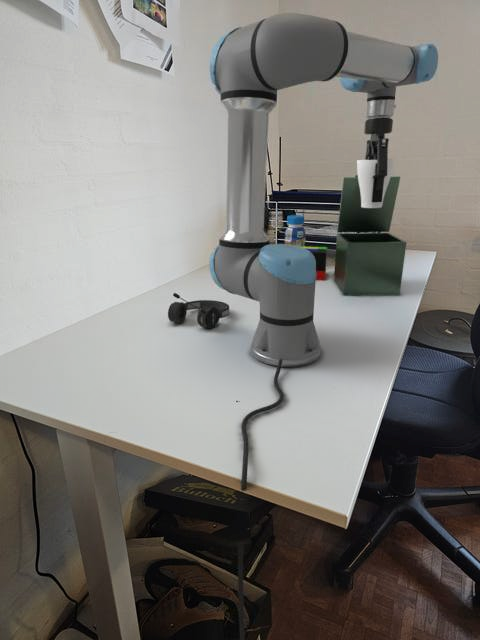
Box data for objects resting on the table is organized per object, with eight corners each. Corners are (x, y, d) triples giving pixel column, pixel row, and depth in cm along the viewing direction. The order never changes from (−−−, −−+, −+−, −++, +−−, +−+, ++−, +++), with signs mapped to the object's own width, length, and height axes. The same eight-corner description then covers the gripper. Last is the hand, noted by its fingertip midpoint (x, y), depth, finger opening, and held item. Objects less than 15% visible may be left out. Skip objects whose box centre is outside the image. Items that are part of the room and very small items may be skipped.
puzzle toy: (296, 278, 147) (297, 251, 143) (299, 272, 156) (300, 246, 152) (324, 280, 145) (326, 252, 141) (325, 273, 154) (327, 247, 150)
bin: (399, 295, 127) (406, 242, 121) (343, 295, 128) (347, 242, 122) (383, 280, 143) (388, 232, 137) (333, 280, 144) (337, 233, 138)
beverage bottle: (283, 263, 170) (284, 214, 163) (303, 262, 170) (305, 214, 163) (284, 267, 162) (285, 217, 155) (305, 267, 162) (307, 217, 155)
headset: (155, 290, 101) (197, 279, 118) (156, 327, 103) (196, 311, 121) (201, 297, 95) (238, 284, 113) (201, 335, 98) (237, 317, 115)
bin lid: (400, 177, 126) (393, 169, 133) (344, 178, 127) (339, 170, 133) (389, 231, 137) (383, 222, 143) (337, 232, 138) (333, 223, 144)
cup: (392, 209, 116) (398, 159, 111) (355, 209, 118) (359, 160, 113) (386, 204, 126) (391, 158, 121) (352, 205, 128) (355, 159, 123)
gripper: (406, 114, 102) (396, 204, 111) (381, 121, 123) (374, 196, 132) (376, 115, 103) (368, 204, 111) (356, 122, 124) (351, 197, 132)
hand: (371, 200), depth 121 cm, fingers closed on cup, 10 cm apart
